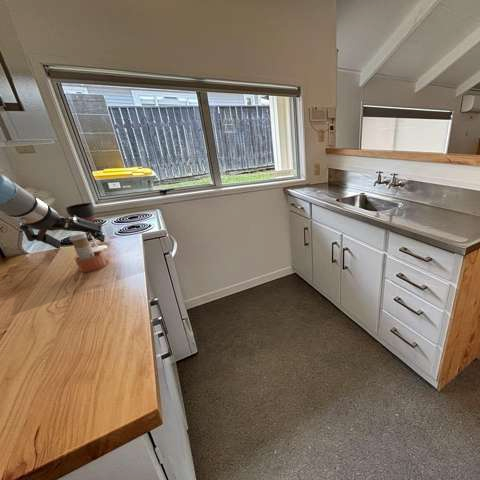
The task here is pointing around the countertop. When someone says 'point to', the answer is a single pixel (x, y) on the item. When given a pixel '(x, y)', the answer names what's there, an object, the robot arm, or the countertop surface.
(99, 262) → the crock
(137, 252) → the countertop surface
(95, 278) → the countertop surface
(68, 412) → the countertop surface
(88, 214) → the wineglass
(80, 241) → the sprinkles bottle
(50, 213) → the robot arm
